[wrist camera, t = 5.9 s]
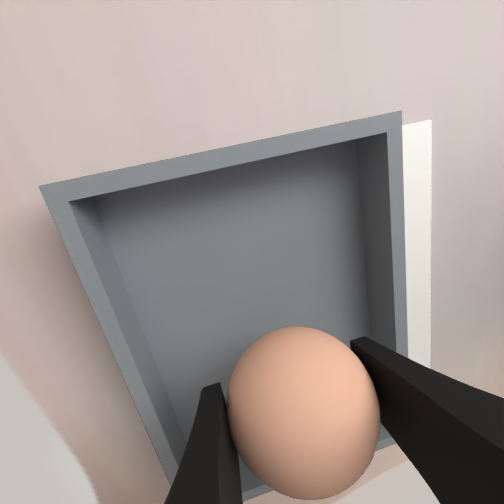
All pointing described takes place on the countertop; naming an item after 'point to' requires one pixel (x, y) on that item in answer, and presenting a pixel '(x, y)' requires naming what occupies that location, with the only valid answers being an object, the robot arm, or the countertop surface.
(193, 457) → the robot arm
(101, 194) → the tray
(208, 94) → the countertop surface
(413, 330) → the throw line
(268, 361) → the ball
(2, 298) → the countertop surface
